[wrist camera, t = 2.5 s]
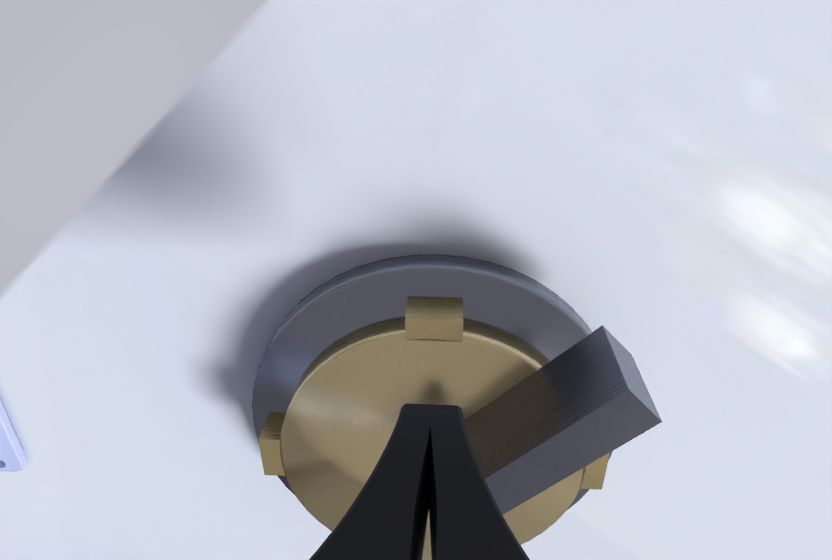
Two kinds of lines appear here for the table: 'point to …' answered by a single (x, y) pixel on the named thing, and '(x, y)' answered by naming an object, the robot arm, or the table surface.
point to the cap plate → (387, 298)
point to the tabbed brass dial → (481, 405)
